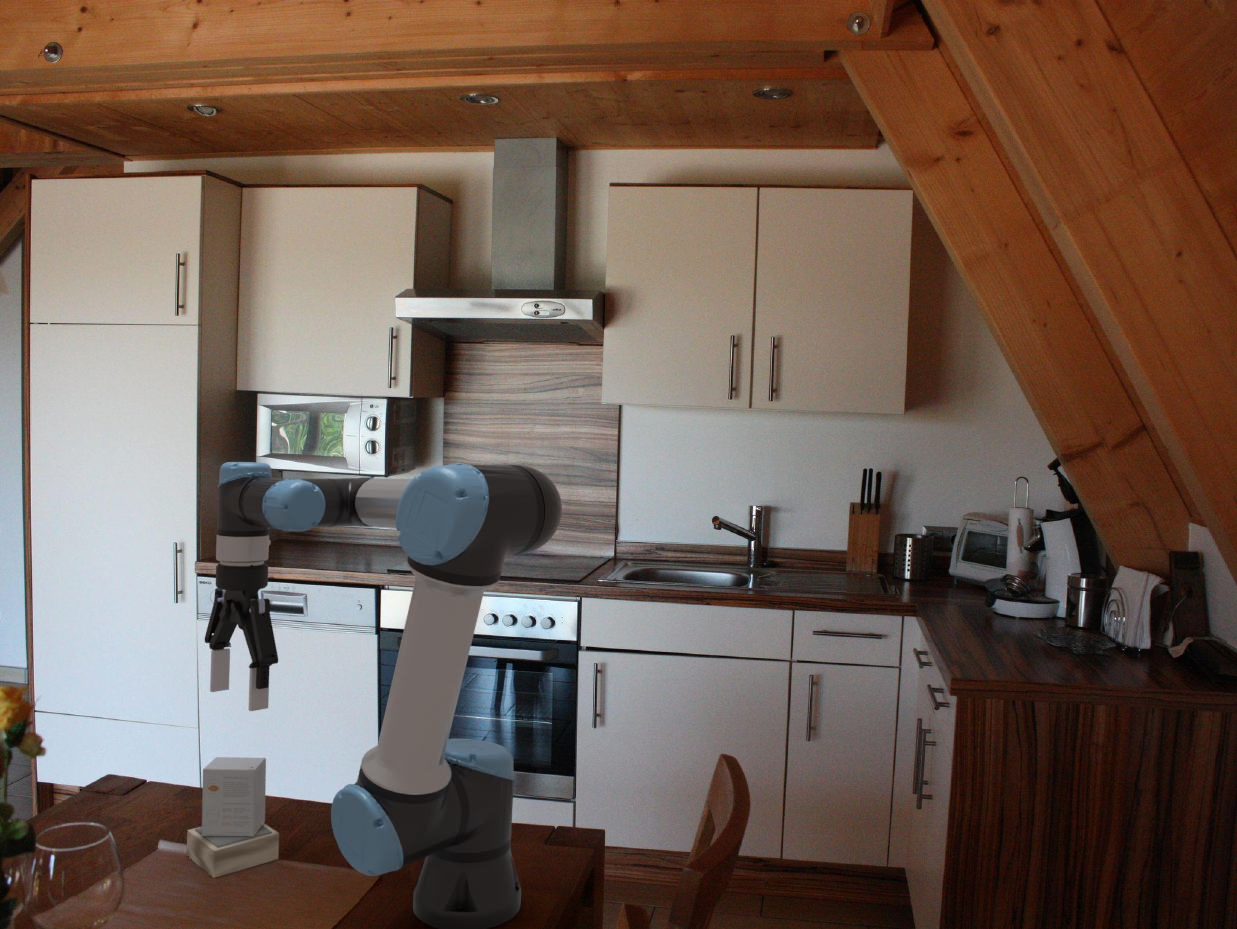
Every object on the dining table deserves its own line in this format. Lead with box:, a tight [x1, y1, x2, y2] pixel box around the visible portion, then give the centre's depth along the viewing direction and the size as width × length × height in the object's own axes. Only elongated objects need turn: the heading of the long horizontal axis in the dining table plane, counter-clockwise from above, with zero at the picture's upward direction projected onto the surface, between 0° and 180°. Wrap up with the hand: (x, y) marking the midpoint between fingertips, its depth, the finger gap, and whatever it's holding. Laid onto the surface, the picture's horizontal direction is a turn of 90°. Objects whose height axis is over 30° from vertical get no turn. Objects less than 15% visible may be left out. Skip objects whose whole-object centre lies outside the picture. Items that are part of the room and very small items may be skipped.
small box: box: [201, 756, 267, 837], centre depth 149 cm, size 8×6×10 cm
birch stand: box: [186, 823, 280, 879], centre depth 149 cm, size 10×10×4 cm
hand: (238, 699), depth 149 cm, fingers open, 13 cm apart
